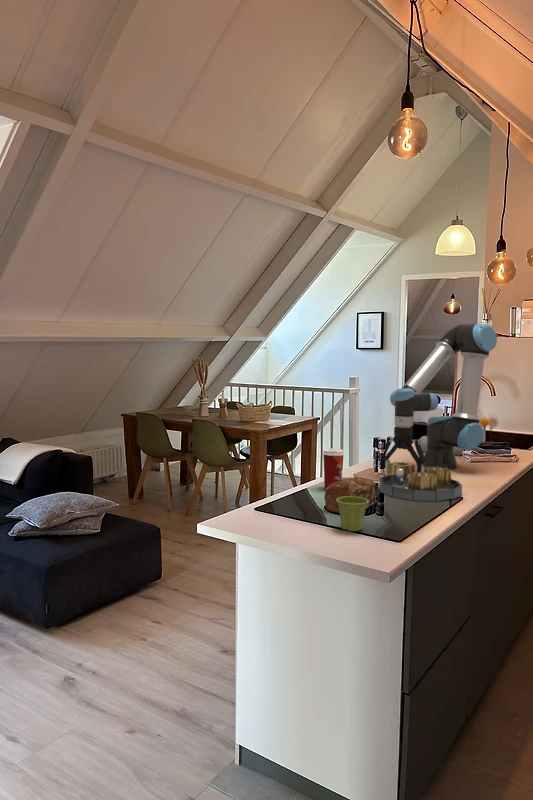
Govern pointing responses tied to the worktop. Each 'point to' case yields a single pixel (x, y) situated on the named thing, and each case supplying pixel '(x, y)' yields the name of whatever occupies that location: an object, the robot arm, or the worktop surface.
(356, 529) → the plant pot
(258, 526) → the worktop surface
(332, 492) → the bread
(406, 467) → the planet gear
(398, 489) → the tray
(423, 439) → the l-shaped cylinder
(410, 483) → the seated gear
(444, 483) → the seated gear
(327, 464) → the coffee cup
